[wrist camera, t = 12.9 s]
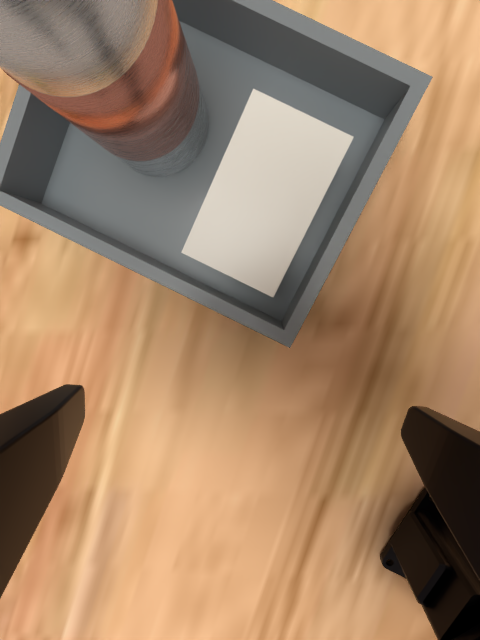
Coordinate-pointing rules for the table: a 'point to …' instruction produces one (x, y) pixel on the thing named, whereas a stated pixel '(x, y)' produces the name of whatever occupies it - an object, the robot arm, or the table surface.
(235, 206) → the white rectangular block
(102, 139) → the steel tin
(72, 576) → the table surface
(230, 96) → the tote
